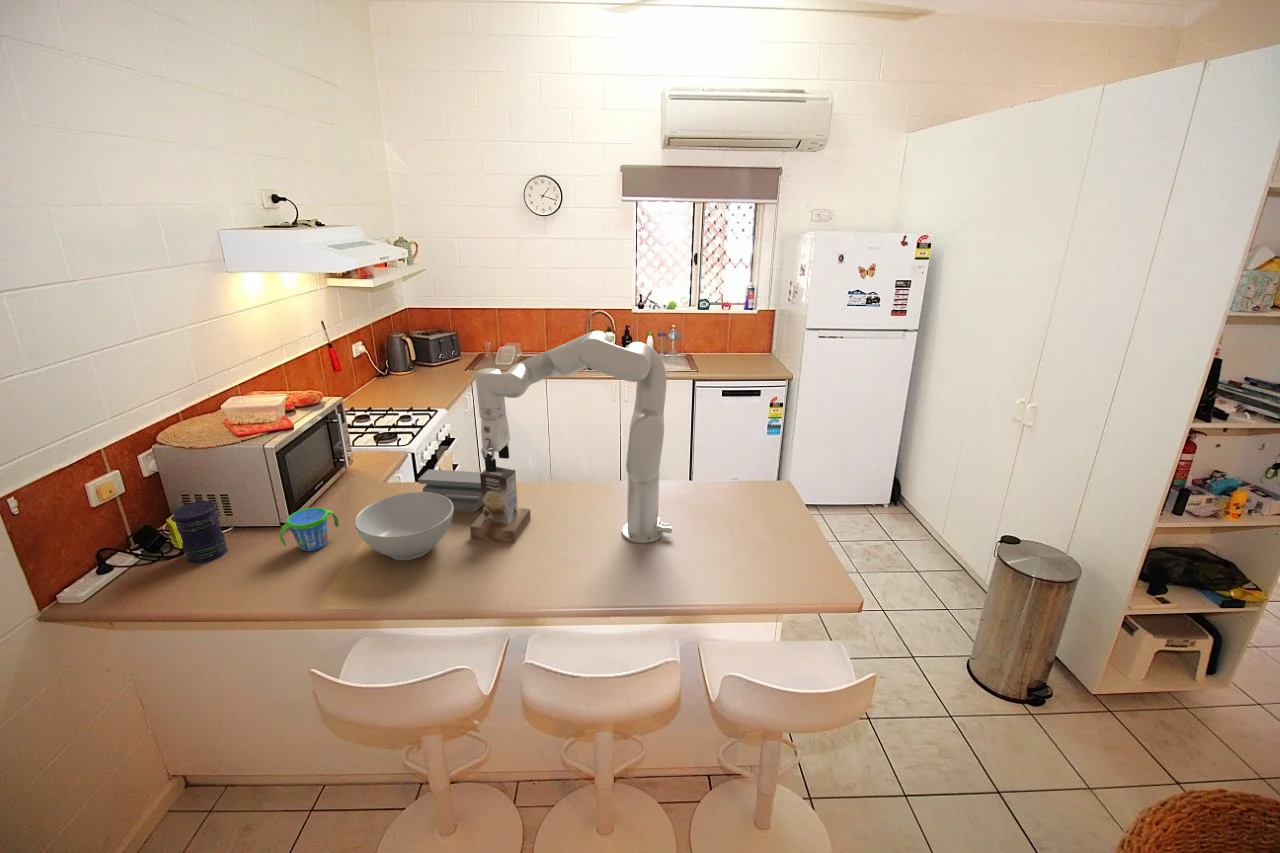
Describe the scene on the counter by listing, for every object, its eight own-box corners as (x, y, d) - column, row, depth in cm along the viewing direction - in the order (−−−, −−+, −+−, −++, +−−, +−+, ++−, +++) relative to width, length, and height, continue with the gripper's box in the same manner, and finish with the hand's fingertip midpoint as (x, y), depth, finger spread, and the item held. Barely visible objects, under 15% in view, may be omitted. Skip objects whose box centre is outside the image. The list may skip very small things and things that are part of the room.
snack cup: (288, 563, 168) (281, 531, 164) (279, 547, 175) (272, 517, 171) (346, 543, 178) (341, 513, 174) (336, 529, 185) (330, 500, 181)
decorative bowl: (339, 563, 168) (332, 526, 164) (405, 519, 191) (400, 485, 187) (416, 584, 159) (411, 545, 155) (475, 535, 183) (472, 500, 179)
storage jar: (183, 567, 165) (169, 520, 160) (189, 550, 173) (176, 505, 168) (226, 558, 169) (213, 512, 164) (230, 542, 178) (218, 497, 172)
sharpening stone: (502, 502, 203) (499, 473, 199) (494, 513, 196) (492, 483, 192) (432, 497, 205) (428, 469, 202) (422, 508, 198) (418, 479, 194)
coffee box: (482, 520, 183) (478, 473, 178) (493, 511, 189) (489, 465, 183) (509, 525, 181) (505, 478, 175) (519, 515, 186) (516, 469, 181)
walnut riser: (530, 519, 192) (530, 509, 190) (514, 542, 179) (513, 531, 178) (489, 515, 194) (488, 504, 193) (471, 538, 181) (470, 526, 180)
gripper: (492, 421, 164) (498, 477, 170) (515, 402, 180) (520, 454, 186) (467, 420, 165) (473, 476, 171) (492, 401, 181) (497, 452, 187)
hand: (497, 464), depth 179 cm, fingers open, 9 cm apart
